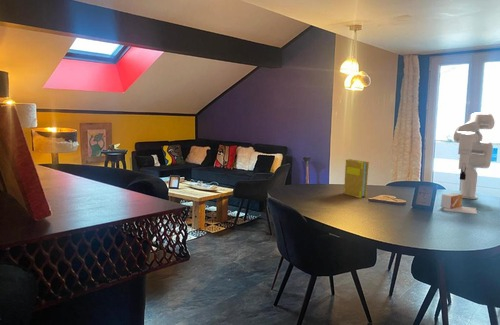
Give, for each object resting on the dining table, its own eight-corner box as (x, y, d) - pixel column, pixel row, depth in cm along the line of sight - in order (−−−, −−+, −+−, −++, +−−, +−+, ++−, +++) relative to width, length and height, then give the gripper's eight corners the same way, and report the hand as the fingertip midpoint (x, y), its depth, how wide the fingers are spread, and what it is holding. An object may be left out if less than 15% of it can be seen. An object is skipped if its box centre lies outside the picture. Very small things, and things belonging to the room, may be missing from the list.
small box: (461, 206, 245) (450, 209, 238) (452, 204, 251) (440, 206, 244) (463, 194, 244) (451, 196, 237) (453, 192, 249) (441, 194, 243)
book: (366, 196, 271) (368, 161, 268) (360, 197, 267) (362, 162, 264) (348, 192, 285) (350, 159, 281) (341, 193, 281) (343, 159, 278)
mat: (444, 205, 251) (444, 204, 251) (476, 209, 243) (476, 208, 243) (443, 210, 237) (443, 209, 237) (477, 214, 229) (477, 213, 229)
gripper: (458, 150, 259) (456, 176, 262) (458, 153, 246) (456, 181, 249) (471, 150, 256) (468, 177, 259) (471, 153, 243) (469, 182, 246)
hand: (462, 179), depth 254 cm, fingers closed
